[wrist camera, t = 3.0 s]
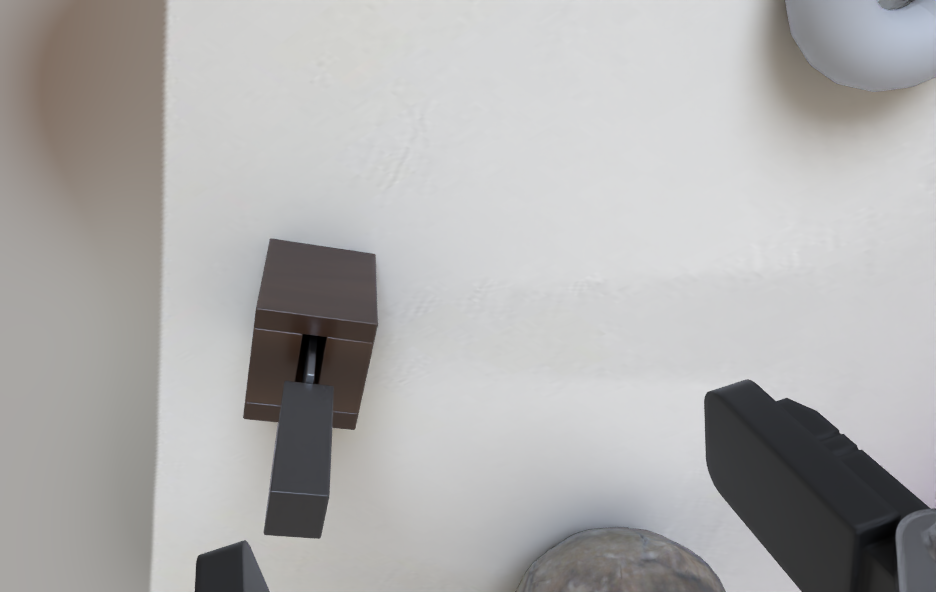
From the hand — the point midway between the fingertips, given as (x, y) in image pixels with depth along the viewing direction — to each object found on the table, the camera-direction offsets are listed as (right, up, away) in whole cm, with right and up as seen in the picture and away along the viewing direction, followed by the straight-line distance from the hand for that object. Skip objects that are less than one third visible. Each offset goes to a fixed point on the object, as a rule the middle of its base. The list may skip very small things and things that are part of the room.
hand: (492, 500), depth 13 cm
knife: (-8, +3, +26) cm, 27 cm away
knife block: (-8, +3, +26) cm, 27 cm away
